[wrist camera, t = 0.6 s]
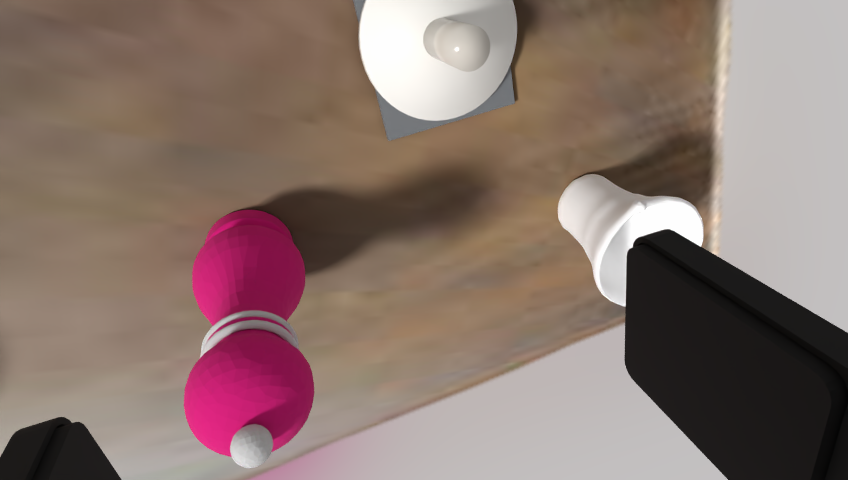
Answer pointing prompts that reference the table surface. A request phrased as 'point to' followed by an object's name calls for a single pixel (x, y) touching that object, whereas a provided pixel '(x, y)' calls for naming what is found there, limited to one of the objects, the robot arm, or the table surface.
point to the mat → (405, 125)
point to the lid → (437, 52)
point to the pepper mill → (248, 340)
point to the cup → (620, 225)
